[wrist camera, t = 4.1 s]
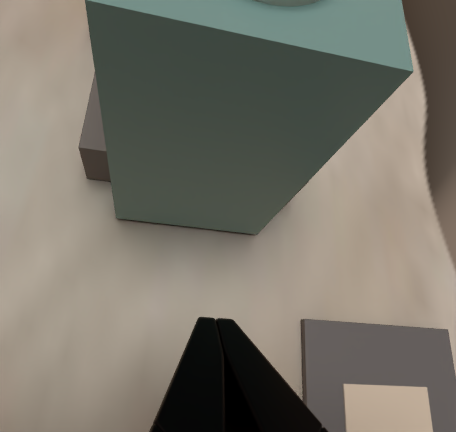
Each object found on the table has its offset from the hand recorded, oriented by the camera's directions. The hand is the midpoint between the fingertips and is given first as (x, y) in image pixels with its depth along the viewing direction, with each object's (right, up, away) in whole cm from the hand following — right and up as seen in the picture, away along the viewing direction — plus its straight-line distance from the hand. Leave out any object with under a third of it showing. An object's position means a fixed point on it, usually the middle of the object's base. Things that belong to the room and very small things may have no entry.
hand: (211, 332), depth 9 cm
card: (+8, -7, +9) cm, 14 cm away
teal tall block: (-1, +5, +11) cm, 12 cm away
